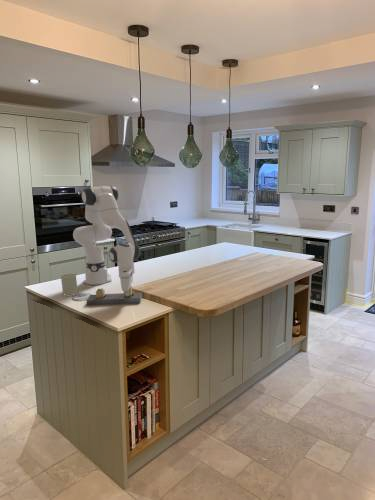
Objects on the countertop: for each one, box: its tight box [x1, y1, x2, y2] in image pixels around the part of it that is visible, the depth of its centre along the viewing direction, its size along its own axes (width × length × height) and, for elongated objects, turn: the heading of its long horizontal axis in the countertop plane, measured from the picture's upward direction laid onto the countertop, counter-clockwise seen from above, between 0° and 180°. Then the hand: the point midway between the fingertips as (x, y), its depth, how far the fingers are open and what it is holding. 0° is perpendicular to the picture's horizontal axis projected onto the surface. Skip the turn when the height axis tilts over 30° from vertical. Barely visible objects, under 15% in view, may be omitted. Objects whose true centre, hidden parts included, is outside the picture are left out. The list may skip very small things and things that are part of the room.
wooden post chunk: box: [123, 285, 133, 297], centre depth 221 cm, size 4×4×8 cm
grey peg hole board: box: [86, 292, 143, 306], centre depth 222 cm, size 10×30×3 cm, turn 91°
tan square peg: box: [95, 288, 106, 299], centre depth 221 cm, size 4×4×8 cm
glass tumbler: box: [60, 273, 79, 296], centre depth 239 cm, size 9×9×12 cm
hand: (128, 293), depth 221 cm, fingers closed on wooden post chunk, 4 cm apart
